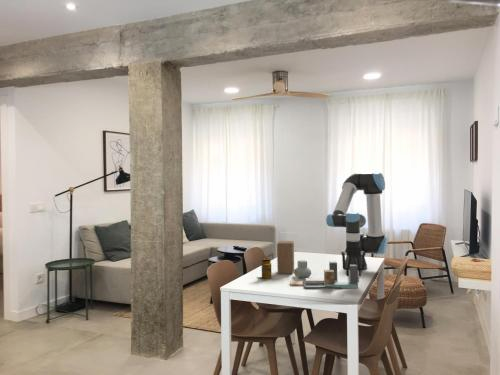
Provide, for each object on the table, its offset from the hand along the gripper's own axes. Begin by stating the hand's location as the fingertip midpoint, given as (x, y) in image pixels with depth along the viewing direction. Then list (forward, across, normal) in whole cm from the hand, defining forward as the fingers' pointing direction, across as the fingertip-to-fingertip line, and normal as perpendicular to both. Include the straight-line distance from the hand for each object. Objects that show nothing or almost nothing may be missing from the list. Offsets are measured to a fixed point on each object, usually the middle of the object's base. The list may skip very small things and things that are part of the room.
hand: (353, 282), depth 233 cm
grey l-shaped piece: (+3, +7, 0) cm, 7 cm away
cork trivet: (+3, +32, -5) cm, 32 cm away
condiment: (+3, +50, -20) cm, 54 cm away
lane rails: (+3, +17, -4) cm, 18 cm away
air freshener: (+3, +27, -23) cm, 36 cm away
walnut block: (+1, +14, 0) cm, 14 cm away
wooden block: (+3, +37, -36) cm, 52 cm away
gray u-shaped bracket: (+3, +17, -9) cm, 19 cm away
